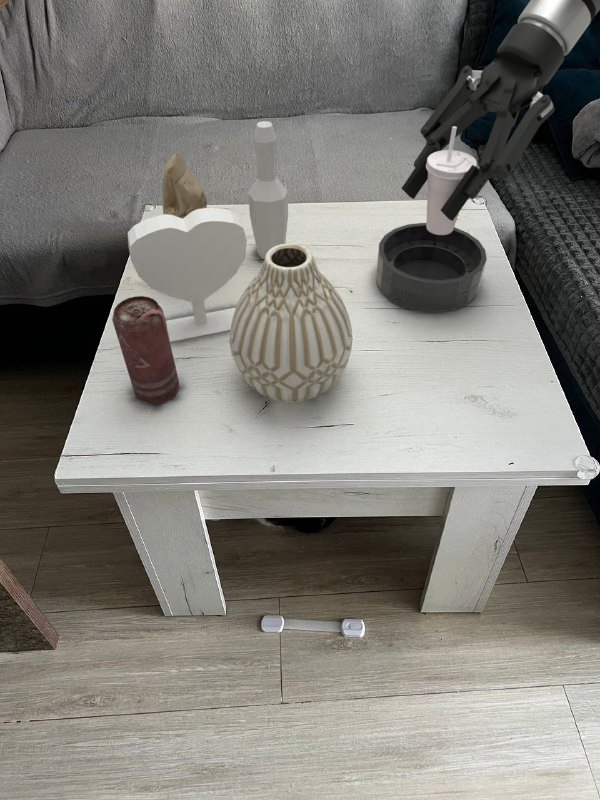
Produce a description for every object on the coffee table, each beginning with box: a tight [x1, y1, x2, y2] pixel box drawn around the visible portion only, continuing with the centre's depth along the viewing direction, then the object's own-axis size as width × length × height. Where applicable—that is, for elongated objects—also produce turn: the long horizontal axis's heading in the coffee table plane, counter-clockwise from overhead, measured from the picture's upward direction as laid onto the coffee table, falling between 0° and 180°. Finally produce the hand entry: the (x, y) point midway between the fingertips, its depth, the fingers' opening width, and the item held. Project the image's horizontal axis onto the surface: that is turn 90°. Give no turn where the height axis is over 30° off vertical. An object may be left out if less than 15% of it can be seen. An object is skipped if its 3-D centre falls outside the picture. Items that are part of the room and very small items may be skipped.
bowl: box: [375, 222, 488, 313], centre depth 96 cm, size 17×17×6 cm
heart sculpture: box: [127, 207, 248, 343], centre depth 85 cm, size 16×5×18 cm, turn 107°
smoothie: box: [426, 126, 478, 235], centre depth 79 cm, size 6×6×14 cm
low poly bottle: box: [247, 120, 289, 260], centre depth 97 cm, size 6×6×22 cm
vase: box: [229, 242, 353, 403], centre depth 76 cm, size 16×16×20 cm
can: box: [111, 295, 180, 406], centre depth 77 cm, size 6×6×14 cm
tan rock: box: [162, 152, 208, 219], centre depth 93 cm, size 13×7×20 cm, turn 171°
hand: (426, 204), depth 79 cm, fingers closed on smoothie, 6 cm apart
